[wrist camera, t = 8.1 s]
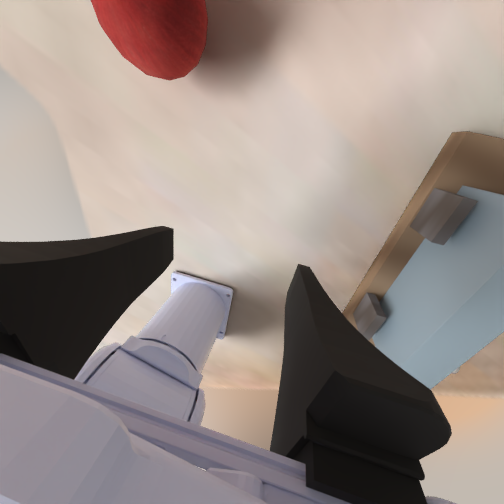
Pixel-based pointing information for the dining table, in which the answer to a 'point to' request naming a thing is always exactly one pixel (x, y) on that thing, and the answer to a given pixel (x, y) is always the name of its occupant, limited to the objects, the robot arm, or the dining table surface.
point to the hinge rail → (429, 218)
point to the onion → (156, 33)
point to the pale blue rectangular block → (448, 296)
